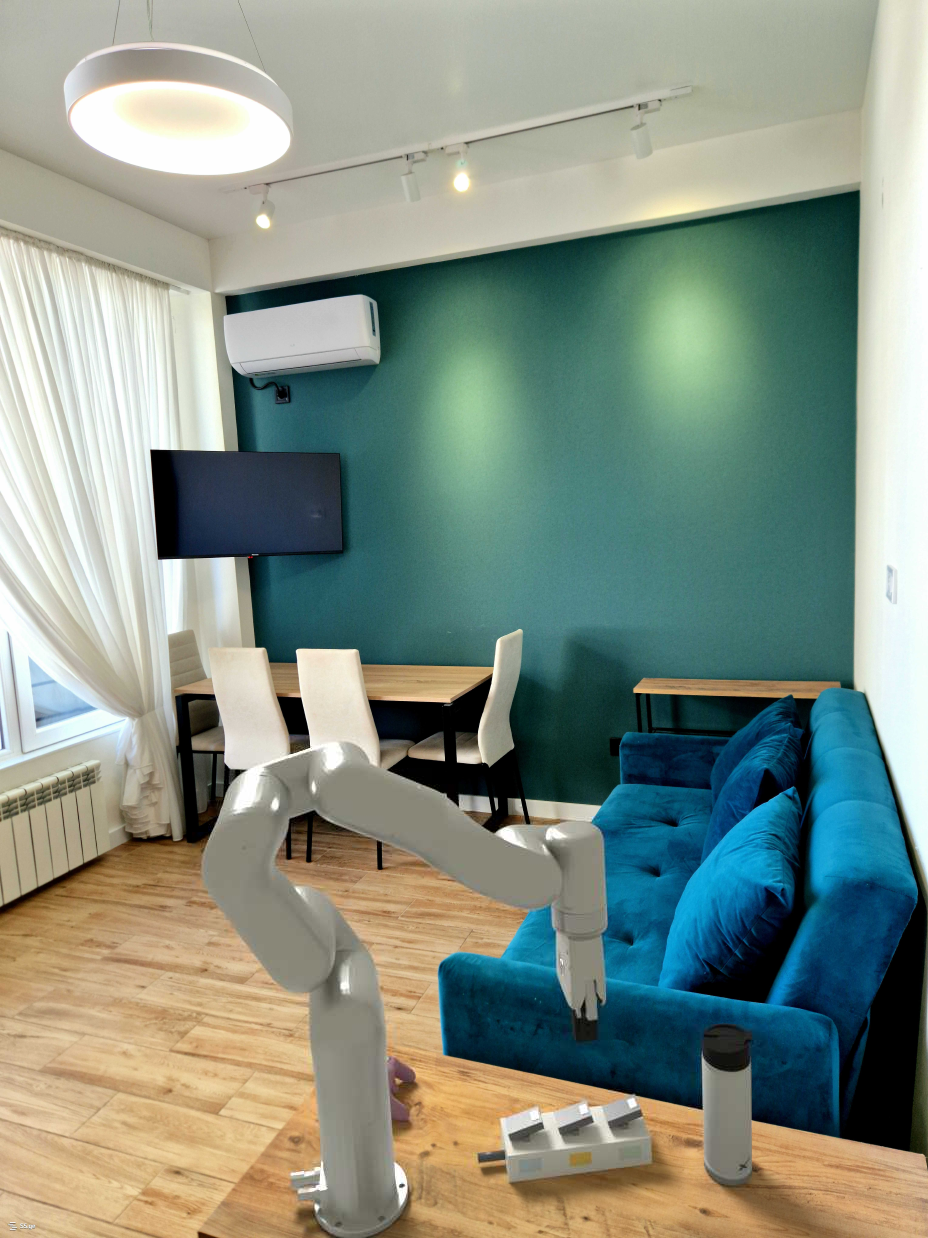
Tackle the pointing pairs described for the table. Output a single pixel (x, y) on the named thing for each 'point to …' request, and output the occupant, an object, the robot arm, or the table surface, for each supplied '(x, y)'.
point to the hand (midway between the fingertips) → (585, 1037)
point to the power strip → (572, 1148)
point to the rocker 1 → (524, 1123)
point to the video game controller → (403, 1074)
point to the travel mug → (727, 1103)
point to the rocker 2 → (622, 1111)
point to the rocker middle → (573, 1117)
